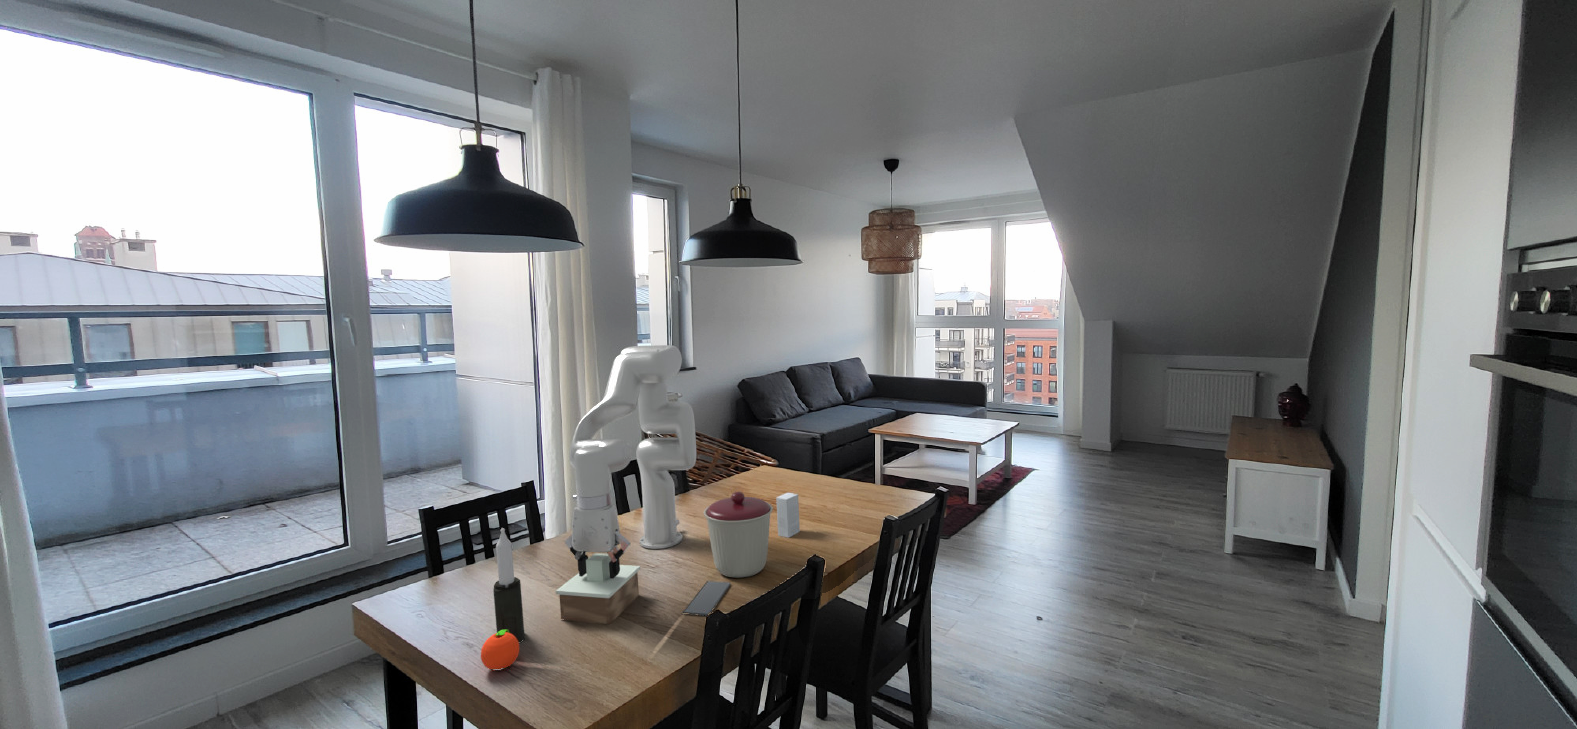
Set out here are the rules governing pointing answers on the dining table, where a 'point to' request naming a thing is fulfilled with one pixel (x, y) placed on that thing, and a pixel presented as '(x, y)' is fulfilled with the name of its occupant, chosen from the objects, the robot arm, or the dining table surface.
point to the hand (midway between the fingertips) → (599, 574)
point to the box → (599, 604)
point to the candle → (507, 592)
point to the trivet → (707, 598)
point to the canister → (739, 534)
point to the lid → (598, 579)
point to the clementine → (500, 650)
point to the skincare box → (788, 514)
